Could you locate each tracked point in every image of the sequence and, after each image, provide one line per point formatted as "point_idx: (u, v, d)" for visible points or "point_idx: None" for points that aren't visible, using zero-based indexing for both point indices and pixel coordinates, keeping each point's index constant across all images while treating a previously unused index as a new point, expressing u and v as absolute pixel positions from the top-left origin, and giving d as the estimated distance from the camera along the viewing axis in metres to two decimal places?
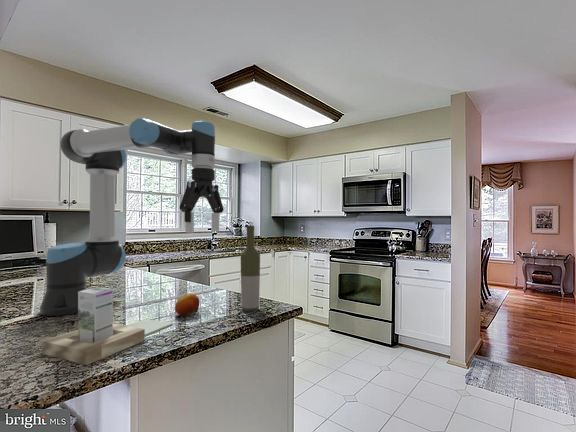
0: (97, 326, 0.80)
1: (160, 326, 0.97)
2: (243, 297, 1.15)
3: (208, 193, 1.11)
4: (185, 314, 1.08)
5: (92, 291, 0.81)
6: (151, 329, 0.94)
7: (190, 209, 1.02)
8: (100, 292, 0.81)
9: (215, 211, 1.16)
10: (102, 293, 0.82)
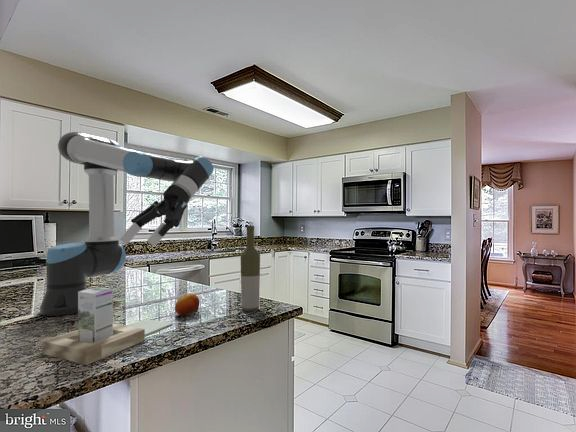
0: (97, 326, 0.80)
1: (160, 326, 0.97)
2: (243, 297, 1.15)
3: None
4: (185, 314, 1.08)
5: (92, 291, 0.81)
6: (151, 329, 0.94)
7: None
8: (100, 292, 0.81)
9: (137, 224, 1.00)
10: (102, 293, 0.82)
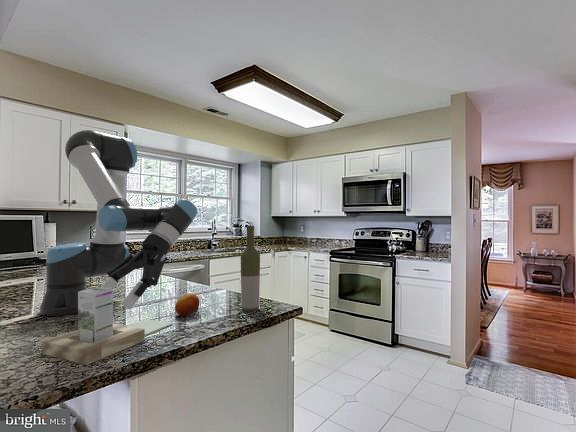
0: (97, 326, 0.80)
1: (160, 326, 0.97)
2: (243, 297, 1.15)
3: None
4: (185, 314, 1.08)
5: (92, 291, 0.81)
6: (151, 329, 0.94)
7: None
8: (100, 292, 0.81)
9: (113, 277, 0.93)
10: (102, 293, 0.82)
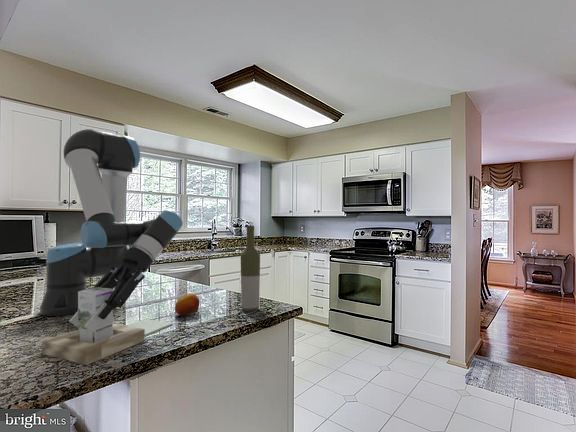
0: None
1: (160, 326, 0.97)
2: (243, 297, 1.15)
3: None
4: (185, 314, 1.08)
5: (92, 291, 0.81)
6: (151, 329, 0.94)
7: None
8: (100, 292, 0.81)
9: None
10: (102, 293, 0.82)
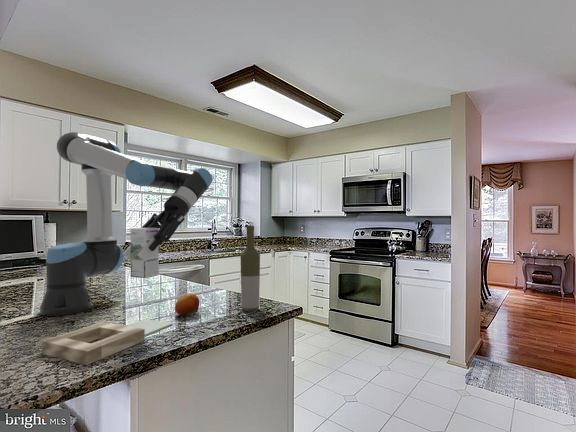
0: None
1: (160, 326, 0.97)
2: (243, 297, 1.15)
3: None
4: (185, 314, 1.08)
5: (142, 228, 0.96)
6: (151, 329, 0.94)
7: None
8: (149, 229, 0.96)
9: None
10: (151, 230, 0.96)
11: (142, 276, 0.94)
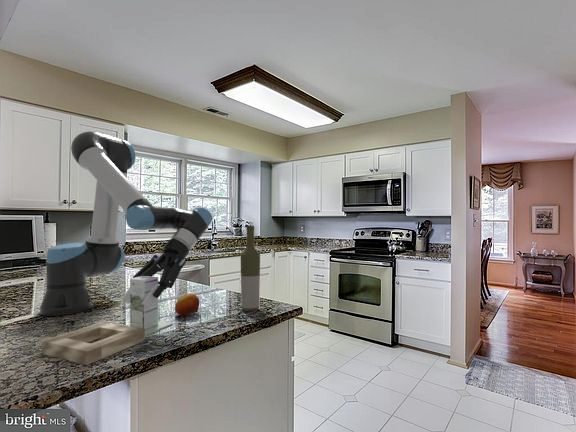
0: (146, 308, 0.94)
1: (160, 326, 0.97)
2: (243, 297, 1.15)
3: None
4: (185, 314, 1.08)
5: (141, 278, 0.96)
6: (151, 329, 0.94)
7: None
8: (148, 279, 0.95)
9: None
10: (150, 280, 0.96)
11: (141, 327, 0.94)
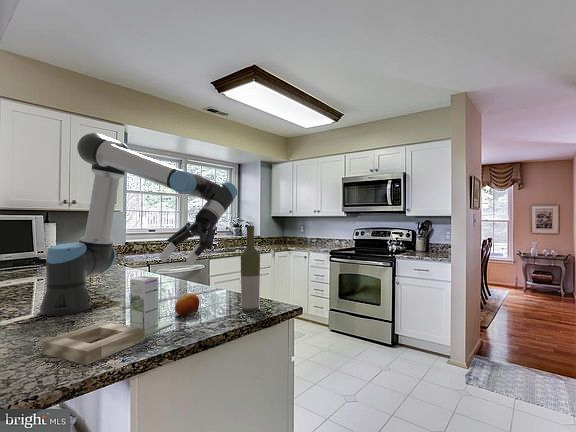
0: (146, 308, 0.94)
1: (160, 326, 0.97)
2: (243, 297, 1.15)
3: None
4: (185, 314, 1.08)
5: (142, 278, 0.96)
6: (151, 329, 0.94)
7: None
8: (148, 279, 0.95)
9: (173, 243, 1.14)
10: (150, 281, 0.96)
11: (141, 327, 0.94)
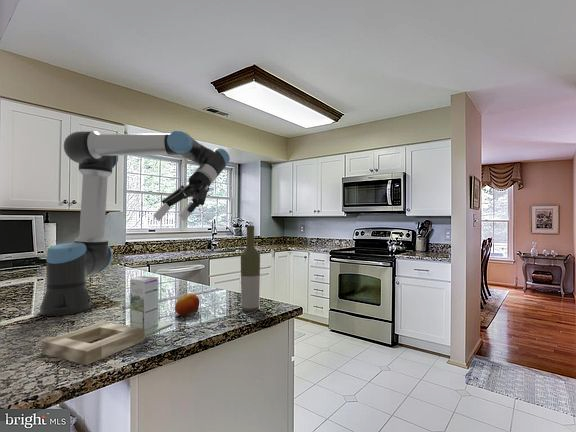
0: (146, 308, 0.94)
1: (160, 326, 0.97)
2: (243, 297, 1.15)
3: None
4: (185, 314, 1.08)
5: (142, 278, 0.96)
6: (151, 329, 0.94)
7: None
8: (148, 279, 0.95)
9: (167, 204, 1.19)
10: (150, 281, 0.96)
11: (141, 327, 0.94)
